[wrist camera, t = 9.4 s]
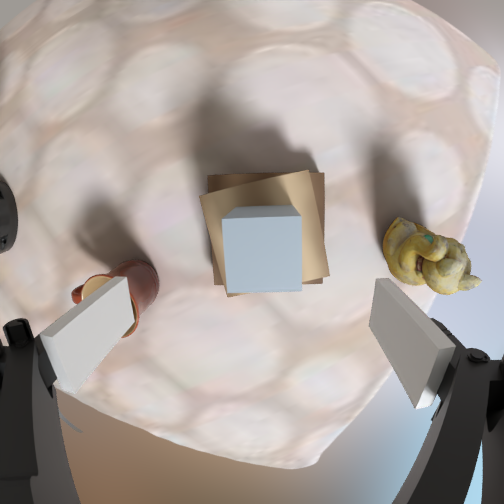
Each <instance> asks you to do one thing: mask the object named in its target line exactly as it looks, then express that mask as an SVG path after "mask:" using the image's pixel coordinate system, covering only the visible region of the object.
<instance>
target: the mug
mask: <svg viewBox="0 0 504 504" xmlns="http://www.w3.org/2000/svg"><path fill="white" fill-rule="evenodd" d="M115 276H118V277H127V282H128V288H129V294H130V299H131V305H132V310H133V315H134V320H135V322H134V323H133V324H132V326H131V327H130V328H129V329H128V330H127V331H126V333H125V334H124V335H123V336H122V337H121V338H124V337H127V336H129V335H131V334H132V333H133V332H134V331H135V329H136V328H137V325H138V322H139V318H140V315H141V314H142V313H143V312H144V311H145V310H146V309H147V308H148V307H149V306H150V305H151V304H152V303H153V302H154V300H155V298H156V296H157V294H158V291H159V279H158V276H157V274H156V272H155V270H154V269H153V268H152V267H151V266H150V265H149V264H148V263H146V262H144V261H141V260H130V261H126V262H123V263H121V264H120V265H118V266H117V267H116V268H114V269H113V270H111V271H110V272H109V273H107V274H99V275H95V276H92V277H90V278H89V279H88V280H87V281H86V282H85V284H83V285H81V286H79V287H77V288H75V289H74V290H73V291H72V293H71V295H72V300H73V302H74V303H75V304H78V303H80V302H81V301H82V300H84V299H85V298H86V297H88V296H89V295H90V294H92V293H93V292H94V291H96V290H97V289H99V288H100V287H101V286H103V285H104V284H105V283H107V282H108V281H110V280H111V279H112V278H114V277H115Z"/></svg>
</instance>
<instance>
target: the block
mask: <svg viewBox="0 0 504 504" xmlns="http://www.w3.org/2000/svg"><path fill="white" fill-rule="evenodd" d="M222 233H223V246H224V259H225V272H226V284H227V293H257V292H292V291H302V216H301V215H300V213H299V212H298V211H297V210H296V208H295V207H294V206H293V205H270V206H246V207H235V208H234V209H233V210H232V211H231V212H229V213H228V214H227V215H226V216H225V217H223V218H222Z"/></svg>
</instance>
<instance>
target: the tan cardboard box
mask: <svg viewBox="0 0 504 504" xmlns="http://www.w3.org/2000/svg"><path fill="white" fill-rule="evenodd" d="M291 173H295V172H291ZM285 174H290V173H246V174H225V175H208V193H212V192H216V191H220V190H223V189H227V188H231V187H235V186H239V185H243V184H247V183H251V182H255V181H259V180H263V179H268V178H272V177H276V176H281V175H285ZM310 178H311V182H312V186H313V191H314V195H315V200H316V205H317V209H318V214H319V219H320V224H321V229H322V234H323V240H324V218H325V189H324V173H310ZM211 246H212V242H211ZM212 260H213V273H214V285H224V284H223V280H222V277H221V274H220V270H219V267H218V263H217V260H216V256H215V253H214V249H213V246H212ZM322 283H323V278H318V279H314V280H310V281H305V282H302V284H322Z"/></svg>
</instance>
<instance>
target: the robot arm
mask: <svg viewBox="0 0 504 504" xmlns="http://www.w3.org/2000/svg"><path fill="white" fill-rule="evenodd" d="M17 226H18V219H17V209H16V204H15V200H14V197H13V194H12V192H11V190H10V188H9V187H8V186H7V184H5V183H4V182H2V181H0V254H1V253H3V252H6V251H8V250H10V249H11V247H12V246H13V244H14V242H15V239H16V235H17ZM134 322H135V320H134V315H133V310H132V305H131V299H130V294H129V288H128V282H127V277H118V276H115V277H114V278H112V279H111V280H110V281H108V282H107V283H105V284H104V285H103V286H101V287H100V288H99V289H97V290H96V291H94V292H93V293H92V294H90V295H89V296H88V297H86V298H85V299H84V300H82V301H81V302H80V303H78V304H77V305H76V306H74V307H73V308H72V309H71V310H69V311H68V312H67V313H65V314H64V315H63V316H61V317H60V318H59V319H58V320H56V321H55V322H54V323H52V324H51V325H50V326H49V327H47V328H46V329H45V330H44V331H42V332H41V333H40V334H39V335H38V336H36V337H35V338H34V337H33V334H32V331H31V328H30V325H29V322H28V320H27V319H23V318H20V319H15V320H12V321H10V322H8V323H7V324H5V325H4V327H3V331H4V333H5V336H6V339H7V341H8V344H9V346H3V344H2V342H1V339H0V504H81V503H80V500H79V497H78V494H77V492H76V488H75V485H74V481H73V478H72V475H71V471H70V467H69V463H68V459H67V455H66V451H65V446H64V441H63V436H62V430H61V425H60V418H59V412H58V404H57V396H56V389H55V387H54V385H53V383H54V382H55V380H56V379H57V380H58V382H59V384H60V386H61V388H62V390H65V391H68V392H71V393H74V394H76V392H77V391H78V390H79V388H80V387H81V386H82V385H83V383H84V382H85V381H86V380H87V378H88V377H89V376H90V375H91V373H92V372H93V371H94V370H95V369H96V367H97V366H98V365H99V364H100V362H101V361H102V360H103V359H104V358H105V356H106V355H107V354H108V353H109V352H110V350H111V349H112V348H113V347H114V346H115V344H116V343H117V342H118V341H119V340H120V338H121V337H122V336H123V335H124V334H125V333H126V331H127V330H128V329H129V328H130V327H131V326H132V324H133V323H134ZM369 327H370V329H371V330H372V332H373V334H374V336H375V337H376V339H377V341H378V342H379V344H380V346H381V348H382V349H383V351H384V353H385V355H386V356H387V358H388V360H389V362H390V363H391V365H392V367H393V369H394V371H395V372H396V374H397V376H398V378H399V380H400V381H401V383H402V385H403V387H404V389H405V391H406V393H407V395H408V396H409V398H410V400H411V402H412V404H413V406H414V408H415V409H418V408H423V407H427V406H431V405H432V403H433V401H434V399H435V397H436V395H437V394H438V396H439V397H440V399H441V402H440V404H439V406H438V408H437V410H436V411H435V413H434V415H433V417H432V419H431V420H432V424H431V426H430V429H429V432H428V434H427V436H426V439H425V441H424V443H423V446H422V448H421V450H420V452H419V454H418V457H417V459H416V461H415V463H414V465H413V467H412V469H411V471H410V473H409V475H408V476H407V478H406V480H405V482H404V484H403V486H402V487H401V489H400V491H399V493H398V494H397V496H396V498H395V500H394V501H393V503H392V504H464V501H465V498H466V495H467V492H468V489H469V486H470V483H471V480H472V477H473V473H474V470H475V466H476V462H477V458H478V454H479V450H480V446H481V441H482V452H483V483H482V501H481V504H504V355H503V357H502V360H490V357H489V356H488V355H487V354H486V353H485V352H483V351H482V350H479V349H474V348H468V349H466V348H465V347H464V346H463V345H462V344H461V342H460V341H459V340H458V339H457V338H456V337H455V336H454V335H452V333H451V332H450V331H449V330H447V328H446V327H445V326H444V325H443V324H442V323H440V322H439V321H437V320H435V319H433V318H429V317H428V316H427V315H426V314H425V313H424V312H423V311H422V310H421V309H420V308H419V307H418V306H417V305H416V304H415V303H414V302H413V301H412V300H411V299H410V298H409V297H408V296H407V295H406V294H405V293H404V292H403V291H402V290H401V289H400V288H399V287H398V286H397V285H396V284H395V283H394V282H392V281H391V280H390V279H389V278H380V279H376V282H375V290H374V297H373V303H372V310H371V316H370V321H369Z"/></svg>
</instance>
